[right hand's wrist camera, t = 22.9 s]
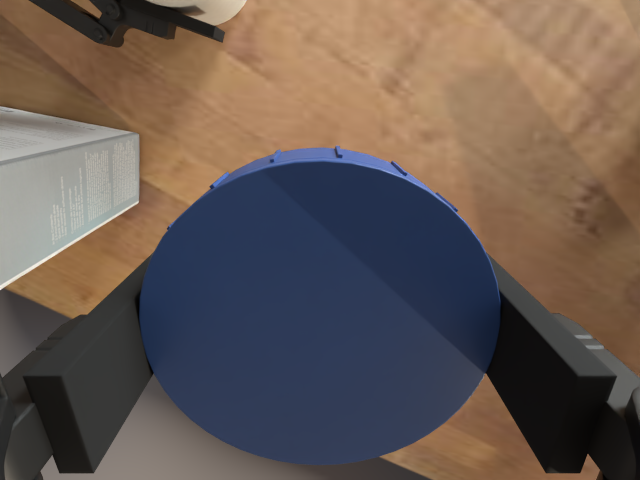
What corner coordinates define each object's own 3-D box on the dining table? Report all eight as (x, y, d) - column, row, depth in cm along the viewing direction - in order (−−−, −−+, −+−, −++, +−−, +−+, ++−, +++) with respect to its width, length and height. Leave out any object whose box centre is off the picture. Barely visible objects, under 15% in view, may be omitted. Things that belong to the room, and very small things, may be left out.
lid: (186, 411, 14) (163, 465, 12) (144, 142, 10) (99, 153, 8) (446, 413, 14) (468, 468, 12) (497, 147, 10) (542, 160, 8)
